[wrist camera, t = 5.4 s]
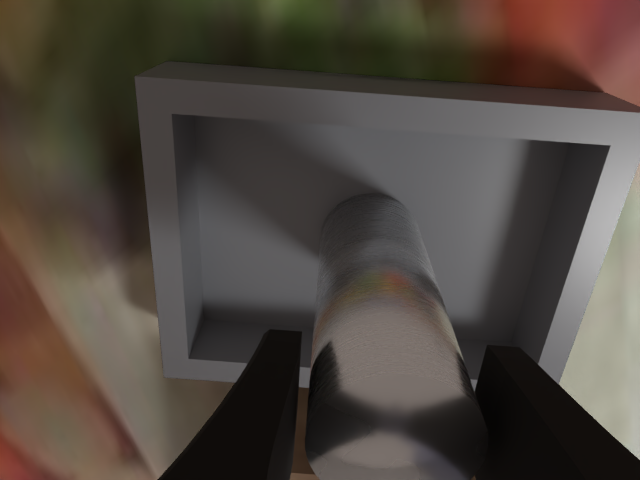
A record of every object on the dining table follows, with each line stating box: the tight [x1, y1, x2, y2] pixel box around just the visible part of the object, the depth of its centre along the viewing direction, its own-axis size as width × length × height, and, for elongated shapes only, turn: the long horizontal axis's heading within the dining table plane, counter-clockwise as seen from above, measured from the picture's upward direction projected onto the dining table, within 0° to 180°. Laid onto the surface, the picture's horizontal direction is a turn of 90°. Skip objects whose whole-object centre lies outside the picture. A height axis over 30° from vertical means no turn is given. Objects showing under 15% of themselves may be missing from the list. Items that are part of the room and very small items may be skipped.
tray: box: [134, 61, 640, 391], centre depth 15 cm, size 12×9×2 cm
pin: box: [305, 193, 488, 480], centre depth 12 cm, size 3×3×8 cm
